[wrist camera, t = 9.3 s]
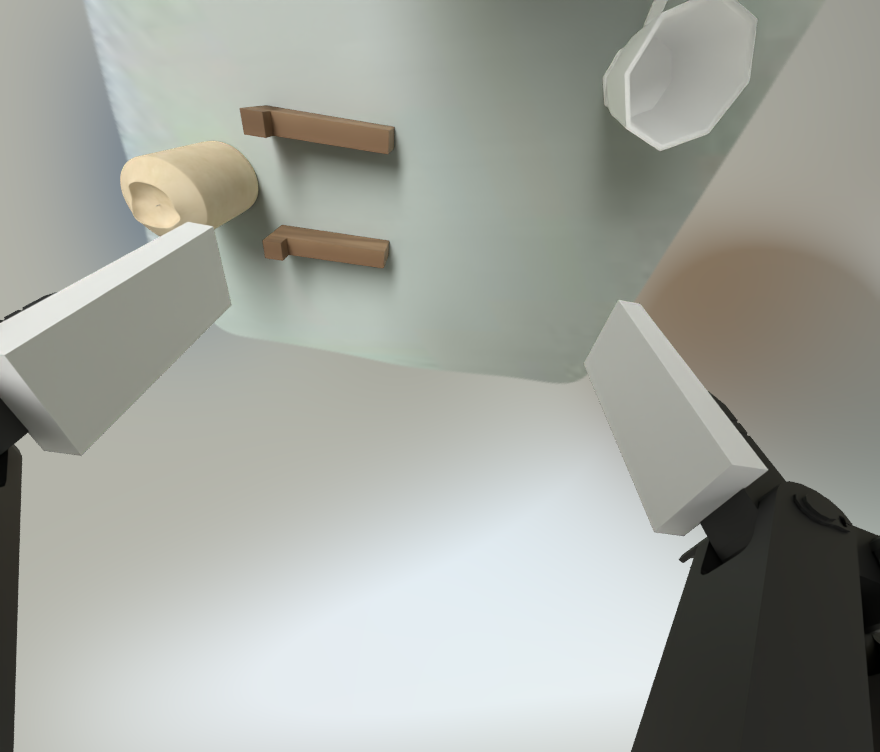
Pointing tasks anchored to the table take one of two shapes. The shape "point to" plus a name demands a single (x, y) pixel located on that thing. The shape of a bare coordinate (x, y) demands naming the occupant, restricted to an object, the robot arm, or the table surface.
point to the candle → (189, 186)
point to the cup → (681, 70)
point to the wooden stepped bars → (328, 132)
